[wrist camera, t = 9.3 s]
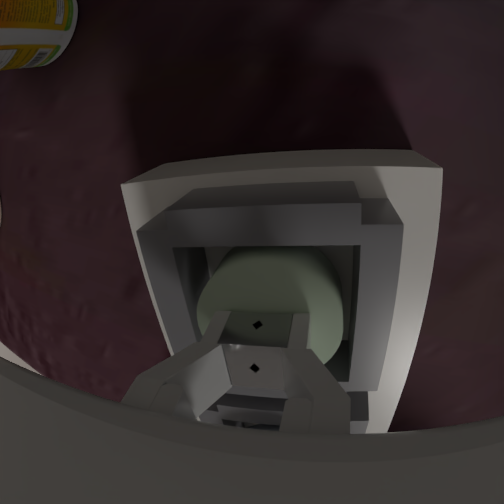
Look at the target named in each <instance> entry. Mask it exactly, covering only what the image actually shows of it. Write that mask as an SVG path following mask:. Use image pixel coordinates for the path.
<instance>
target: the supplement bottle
mask: <svg viewBox="0 0 504 504" xmlns="http://www.w3.org/2000/svg"><path fill="white" fill-rule="evenodd" d="M77 17H78V5H77V1H76V0H0V70H7V69H17V68H29V67H39V66H44V65H47V64H49V63H51V62H53V61H54V60H55V59H56V58H58V57H59V56H60V55H61V53H62V52H63V51H64V50H65V48H66V47H67V45H68V44H69V42H70V40H71V38H72V36H73V33H74V30H75V27H76V23H77Z"/></svg>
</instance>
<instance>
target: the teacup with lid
mask: <svg viewBox="0 0 504 504" xmlns="http://www.w3.org/2000/svg"><path fill="white" fill-rule="evenodd" d="M1 217H2V209H1V199H0V225H1Z"/></svg>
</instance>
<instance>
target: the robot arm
mask: <svg viewBox="0 0 504 504" xmlns="http://www.w3.org/2000/svg"><path fill="white" fill-rule="evenodd" d="M232 386H241V387H256V388H267V389H277V390H285V393H286V395H287V397H288V400H286V401H285V406H284V410H283V415H282V420H281V424H280V429H279V431H270V430H260V429H250V428H242V427H234V426H227V425H221V424H214V423H208V422H202V421H197V419H196V418H197V417H198V416H199V415H201V414H202V413H203V412H204V411H205V410H206V409H208V408H209V407H210V406H211V405H212V404H213V403H214V402H216V401H217V400H218V399H219V398H220V397H221V396H222V395H224V394H225V393H226V392H227V391H228V390H229V389H230V388H231V387H232ZM350 411H351V398H350V397H349V395H348V394H347V393H346V392H345V390H344V389H343V388H342V387H341V385H340V384H339V383H338V382H337V380H336V379H335V378H334V377H333V375H332V374H331V373H330V372H329V370H328V369H327V368H326V367H325V365H324V364H323V363H322V362H321V360H320V359H319V358H318V357H317V355H316V354H315V353H314V352H313V350H312V349H311V314H310V313H294V314H282V313H257V312H241V311H223V310H218V311H216V312H215V313H214V315H213V317H212V319H211V321H210V323H209V325H208V327H207V329H206V331H205V333H204V335H203V337H202V339H201V341H200V342H194V343H193V344H191V345H189V346H188V347H186V348H184V349H183V350H181V351H179V352H178V353H176V354H174V355H173V356H171V357H169V358H167V359H166V360H164V361H162V362H161V363H159V364H157V365H155V366H154V367H152V368H150V369H148V370H147V371H145V372H143V373H141V374H140V375H138V376H137V377H136V379H135V380H134V382H133V383H132V385H131V387H130V388H129V390H128V391H127V393H126V395H125V396H124V398H123V399H122V401H121V403H120V402H116V401H113V400H110V399H106V398H103V397H100V396H97V395H94V394H91V393H88V392H85V391H82V390H79V389H76V388H73V387H71V386H68V385H65V384H62V383H60V382H57V381H55V380H52V379H49V378H47V377H44V376H42V375H40V374H37V373H35V372H32V371H30V370H28V369H26V368H23V367H21V366H19V365H17V364H15V363H12V362H10V361H8V360H6V359H4V358H2V357H0V504H504V416H500V417H496V418H491V419H486V420H482V421H476V422H471V423H466V424H460V425H453V426H447V427H440V428H432V429H423V430H413V431H402V432H388V433H366V434H350Z"/></svg>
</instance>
